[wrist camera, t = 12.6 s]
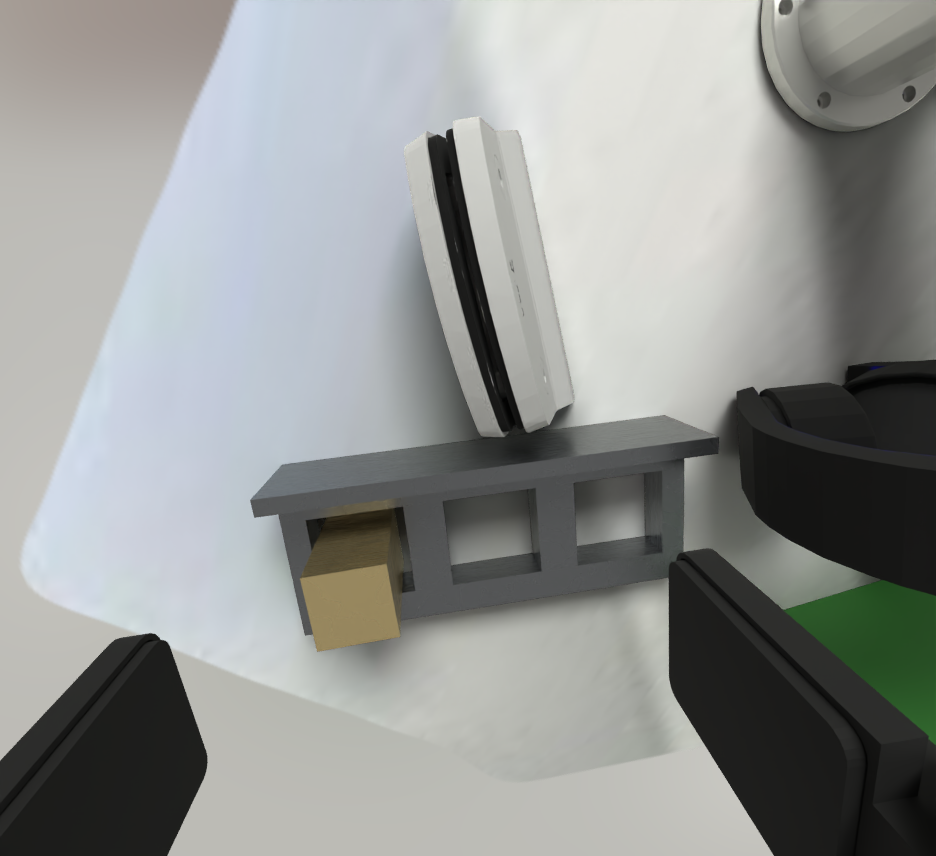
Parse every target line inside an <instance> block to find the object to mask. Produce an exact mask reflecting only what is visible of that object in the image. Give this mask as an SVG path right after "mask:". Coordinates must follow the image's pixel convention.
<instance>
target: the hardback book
mask: <svg viewBox="0 0 936 856" xmlns="http://www.w3.org/2000/svg"><path fill="white" fill-rule="evenodd" d="M784 611H785V612H786V613H787V614H788V615H790V616H791V617H792V618H793V619H794V620H795V621H796V622H798V623H799V624H800V625H801V626H802V627H803V628H805V629H806V630H807V631H808V632H809V633H810V634H811V635H813V636H814V637H815V638H816V639H817V640H818V641H820V642H821V643H822V644H823V645H824V646H825V647H827V648H828V649H829V650H830V651H831V652H832V653H833V654H835V655H836V656H837V657H838V658H839V659H840V660H842V661H843V662H844V663H845V664H846V665H847V666H848V667H850V668H851V669H852V670H853V671H854V672H855V673H857V674H858V675H859V676H860V677H861V678H862V679H864V680H865V681H866V682H867V683H868V684H869V685H870V686H872V687H873V688H874V689H875V690H876V691H877V692H879V693H880V694H881V695H882V696H883V697H884V698H885V699H887V700H888V701H889V702H890V703H891V704H892V705H894V706H895V707H896V708H897V709H898V710H899V711H901V712H902V713H903V714H904V715H905V716H906V717H907V718H909V719H910V720H911V721H912V722H913V723H914V724H916V725H917V726H918V727H919V728H920V729H921V730H922V731H924V732H925V733H926V734H927V735H928V736H929V738H928V739H929V740H930V741H931V742H933V743H934V744H935V745H936V596H934V595H931V594H927V593H924V592H920V591H916V590H913V589H909V588H906V587H902V586H899V585H896V584H893V583H890V582H888V581H885V580H881V581H877V582H874V583H871V584H868V585H864V586H861V587H858V588H855V589H851V590H848V591H845V592H841V593H838V594H835V595H832V596H828V597H825V598H822V599H818V600H815V601H812V602H809V603H805V604H802V605H799V606H795V607H792V608H789V609H786V610H784Z"/></svg>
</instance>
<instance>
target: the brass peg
mask: <svg viewBox="0 0 936 856" xmlns="http://www.w3.org/2000/svg"><path fill="white" fill-rule="evenodd" d="M403 565H404V560H403V554H402V549H401V543H400V537H399V532H398V526H397V520H396V514H395V509H394V508H389V509H382V510H375V511H368V512H361V513H354V514H347V515H339V516H332V517H327V518H326V521H325V523H324V525H323V527H322V530H321V532H320V534H319V536H318V539H317V541H316V543H315V545H314V548H313V550H312V552H311V554H310V557H309V559H308V561H307V564H306V566H305V568H304V570H303V573H302V575H301V577H300V581H301V585H302V589H303V594H304V598H305V602H306V606H307V611H308V615H309V619H310V623H311V627H312V632H313V636H314V640H315V644H316V648H317V652H318V651H324V650H329V649H335V648H341V647H346V646H352V645H357V644H363V643H369V642H374V641H380V640H385V639H391V638H397V637H400V626H401V606H402V585H403Z"/></svg>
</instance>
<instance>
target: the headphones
mask: <svg viewBox="0 0 936 856" xmlns="http://www.w3.org/2000/svg"><path fill="white" fill-rule="evenodd" d="M737 410H738V431H739V453H740V470H741V483H742V489H743V491H744V493H745V495H746V497H747V499H748V501H749V503H750V505H751V507H752V509H753V511H754V513H755V515H756V516H757V517H759V518H760V519H761V520H762V521H763V522H764V523H765V524H766V525H768V526H769V527H770V528H772V529H773V530H775V531H776V532H778V533H779V534H781V535H782V536H784V537H785V538H787V539H788V540H790V541H792V542H794V543H796V544H798V545H800V546H802V547H804V548H806V549H808V550H810V551H812V552H813V553H815V554H817V555H819V556H821V557H823V558H826V559H828V560H831V561H834V562H836V563H839V564H841V565H844V566H847V567H849V568H852V569H854V570H857V571H860V572H862V573H865V574H868V575H870V576H873V577H876V578H879V579H882V580H885V581H888V582H890V583H893V584H896V585H899V586H902V587H906V588H909V589H913V590H916V591H920V592H924V593H927V594H931V595H934V596H936V360H926V361H906V362H871V363H865V364H858V365H852V366H848V383H846V384H844V385H842V386H839V385H836V384H832V383H817V384H808V385H798V386H788V387H779V388H769V389H765V390H763V391H761V392H760V394H758V393H757V391H756V390H755V389H754V387H750V388H747V389H743V390H740V391H737Z"/></svg>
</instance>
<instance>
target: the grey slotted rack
mask: <svg viewBox="0 0 936 856" xmlns="http://www.w3.org/2000/svg"><path fill="white" fill-rule="evenodd" d="M718 450H719V437H718V436H715V435H713V434H710V433H708V432H705V431H703V430H700V429H698V428H695V427H693V426H690V425H688V424H685V423H683V422H680V421H678V420H675V419H673V418H670V417H668V416H665V415H663V416H655V417H647V418H640V419H632V420H624V421H616V422H609V423H601V424H593V425H586V426H578V427H570V428H562V429H555V430H547V431H539V432H532V433H524V434H516V435H508V436H505V437H493V438H485V439H478V440H470V441H462V442H454V443H447V444H439V445H431V446H424V447H416V448H408V449H400V450H393V451H385V452H377V453H370V454H362V455H354V456H346V457H339V458H331V459H323V460H316V461H308V462H300V463H292V464H285V465H281V467H280V468H279V469H278V470H277V471H276V472H275V473H274V474H273V475H272V477H271V478H270V479H269V480H268V481H267V482H266V483H265V484H264V485H263V487H262V488H261V489H260V490H259V491H258V492H257V493H256V494H255V495H254V497H253V498H252V499H251V500H250V501H251V505H252V510H253V514H254V518H255V517H262V516H270V515H277V514H278V515H279V519H280V524H281V528H282V533H283V537H284V542H285V546H286V551H287V556H288V560H289V565H290V569H291V574H292V578H293V583H294V588H295V592H296V597H297V601H298V606H299V610H300V615H301V619H302V624H303V629H304V633H305V635H312V634H313V632H312V627H311V623H310V619H309V615H308V611H307V606H306V602H305V598H304V594H303V589H302V585H301V581H300V577H301V575H302V573H303V570H304V568H305V566H306V564H307V561H308V559H309V557H310V554H311V552H312V550H313V548H314V545H315V543H316V541H317V539H318V536H319V534H320V532H319V527H318V522H317V519H318V518H325V517H332V516H339V515H347V514H354V513H361V512H368V511H375V510H382V509H389V508H397V507H403V510H404V517H405V524H406V531H407V537H408V544H409V551H410V558H411V564H412V571H411V572H405V573H403V585H402V606H401V620H406V619H412V618H418V617H425V616H431V615H437V614H443V613H450V612H456V611H462V610H468V609H475V608H481V607H487V606H494V605H500V604H506V603H512V602H519V601H525V600H531V599H537V598H544V597H550V596H556V595H563V594H569V593H575V592H581V591H588V590H594V589H600V588H606V587H613V586H619V585H625V584H632V583H638V582H644V581H650V580H657V579H663V578H669V565H670V563H671V562H675V561H676V558H677V556H678V554H679V553H681V552H683V525H684V458H690V457H697V456H704V455H712V454H718ZM640 473H644V484H645V536H643V537H636V538H630V539H623V540H616V541H610V542H603V543H596V544H590V545H583V546H577V541H576V522H575V502H574V483H576V482H583V481H590V480H597V479H604V478H611V477H619V476H626V475H633V474H640ZM526 489H528V499H529V512H530V525H531V538H532V551H533V553H530V554H524V555H517V556H510V557H504V558H497V559H491V560H484V561H477V562H471V563H464V564H458V565H451V564H450V556H449V548H448V540H447V532H446V524H445V516H444V508H443V501H447V500H454V499H461V498H468V497H475V496H483V495H490V494H497V493H504V492H511V491H518V490H526Z"/></svg>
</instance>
